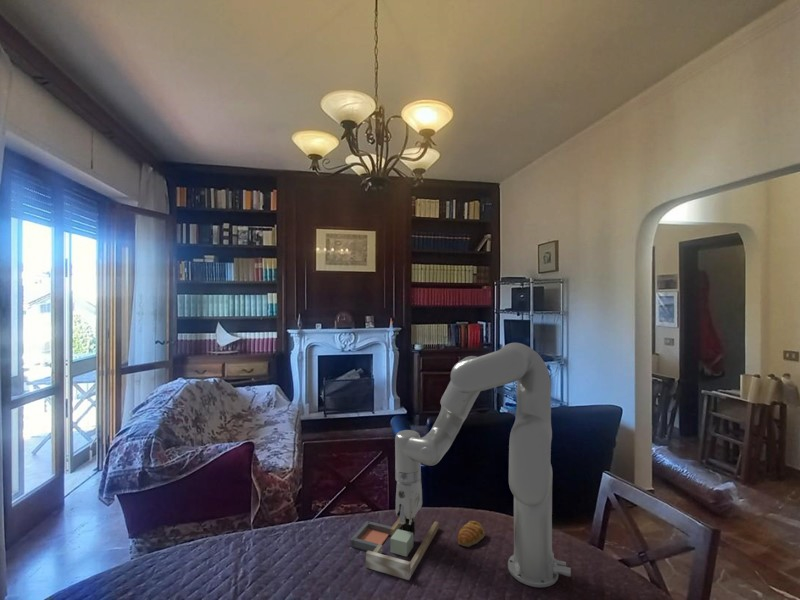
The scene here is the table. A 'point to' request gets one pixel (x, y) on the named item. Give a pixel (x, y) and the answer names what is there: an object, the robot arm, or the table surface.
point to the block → (401, 542)
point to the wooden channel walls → (394, 564)
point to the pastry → (471, 534)
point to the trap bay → (370, 536)
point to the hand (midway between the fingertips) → (408, 535)
